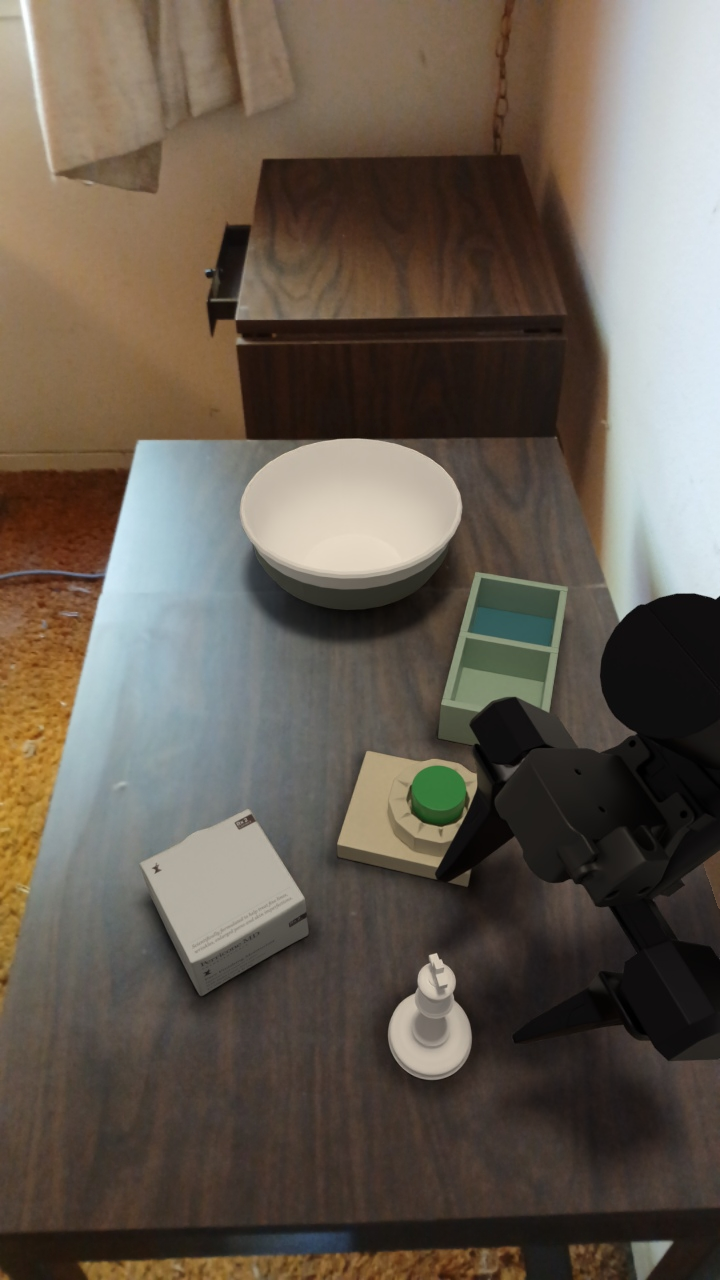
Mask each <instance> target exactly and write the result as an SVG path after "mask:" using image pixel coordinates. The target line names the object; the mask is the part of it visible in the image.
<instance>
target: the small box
mask: <svg viewBox="0 0 720 1280" xmlns="http://www.w3.org/2000/svg"><path fill="white" fill-rule="evenodd" d="M138 865H139V869H140V871H141V873H142V876H143V880H144V881H145V885H146V887H147V890H148V893H149V896H150V898H151V900H152V902H153V904H154V906H155V908H156V910H157V913H158V915H159V917H160V920H161V921H162V923H163V925H164V927H165V930H166V932H167V934H168V936H169V939H170V940H171V942H172V944H173V946H174V948H175V950H176V952H177V954H178V957H179V958H180V960H181V963H182V964H183V966H184V968H185V970H186V972H187V975H188V977H189V979H190V980H191V982H192V984H193V987H194V989H195V990H196V992H197V994H198V995H199V996H200V997H203V996H205V995H207V994H208V993H209V992H212V991H213V990H214V989H217V988H218V987H220V986H222V985H223V984H224V983H226V982H228V981H229V980H231V979H233V978H235V977H236V976H238V975H240V974H241V973H243V972H245V971H247V970H249V969H251V968H252V967H254V966H255V965H257V964H259V963H261V962H262V961H264V960H266V959H268V958H269V957H271V956H273V955H274V954H276V953H278V952H280V951H282V950H284V949H285V948H287V947H288V946H290V945H292V944H294V943H296V942H298V941H299V940H302V939H304V938H305V937H308V936H309V934H310V930H309V929H310V928H309V923H308V921H309V920H308V914H307V913H308V912H307V904H306V898H305V896H304V894H303V893H302V892H301V890H300V888H299V886H298V885H297V883H296V881H295V880H294V877H292V875H291V874H290V871H289V870H288V868H287V867H286V865H285V863H284V862H283V860H282V858H281V857H280V855H279V854H278V852H277V850H276V848H275V847H274V845H273V843H272V842H271V841H270V839H269V837H268V835H267V834H266V832H265V831H264V829H263V827H262V826H261V824H260V823H259V821H258V819H257V817H256V816H255V814H254V812H253V811H252V810H251V809H250V808H246V809H244V810H242V811H240V812H238V813H236V814H234V815H231V816H229V817H228V818H226V819H224V820H221V821H219V822H218V823H216V824H214V825H212V826H210V827H207V828H203V829H199V830H196V831H194V832H192V833H191V834H189V835H188V836H187V837H185V838H184V839H183V841H181V842H179V843H176V844H175V845H173V846H171V847H168V848H167V849H165V850H163V851H161V852H159V853H156V854H155V855H153V856H151V857H148V858H147V859H145V860H142V861H140V862H139V863H138Z"/></svg>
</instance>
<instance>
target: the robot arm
mask: <svg viewBox="0 0 720 1280" xmlns="http://www.w3.org/2000/svg"><path fill="white" fill-rule="evenodd" d="M605 643H606V644H605V647H604V649H603V652H602V655H601V659H600V667H599V668H600V670H599V681H600V687H601V693H602V695H603V698H604V701H605V703H606V705H607V708H608V709H609V710H610V713H612V715H613V716H614V717H615V719H617V720H618V721H619V722H620V723H621V724H622V725H624V726H625V727H626V728H627V729H628V730H630V731H632V732H634V733H635V734H634V735H633V734H632V735H629V736H628V737H626V738H625V739H624V740H623V741H621V742H620V743H619V744H617V745H616V746H612V747H611V748H608V749H605V750H602V751H600V752H599V751H596V750H595V749H592V748H587V747H579V746H578V744H577V743H576V741H575V740H574V738H573V737H572V736H571V734H570V733H569V731H568V730H567V728H566V727H565V725H564V723H563V722H562V721H561V719H560V718H559V717H558V716H557V715H555V714H552V713H550V711H549V712H546V711H544V710H542V709H540V708H538V707H536V706H534V705H532V704H530V703H528V702H526V701H524V700H522V699H520V698H517V697H504V698H500V699H497V700H494V701H491V702H490V703H489V704H488V705H487V706H486V707H485V708H484V709H482V710H481V711H480V712H479V713H478V714H477V715H476V716H475V717H474V718H472V719H471V721H470V724H469V726H470V728H471V729H472V731H473V733H474V735H475V736H476V738H477V740H478V742H479V743H480V744H477V743H475V744H474V745H472V748H471V757H472V758H473V760H474V762H475V769H476V773H477V789H476V792H475V795H474V797H473V800H472V802H471V805H470V807H469V809H468V812H467V814H466V816H465V818H464V820H463V822H462V824H461V825H460V827H459V829H458V831H457V833H456V835H455V837H454V838H453V840H452V842H451V844H450V846H449V848H448V850H447V851H446V853H445V855H444V857H443V859H442V861H441V863H440V864H439V866H438V868H437V870H436V872H435V876H436V878H437V881H438V882H443V883H449V881H451V880H453V879H455V878H456V877H458V876H460V875H462V874H463V873H465V872H467V871H469V870H470V869H471V870H472V869H474V867H476V866H478V865H479V864H480V863H482V861H484V860H486V858H488V857H489V856H491V855H492V854H493V853H495V851H497V850H499V849H500V848H501V847H502V846H504V845H505V844H506V843H508V842H509V841H510V840H512V839H513V838H514V837H515V839H516V840H517V842H518V844H519V846H520V848H521V850H522V858H523V859H524V863H525V864H526V866H527V867H528V868H529V871H531V872H532V874H534V875H535V876H536V877H537V878H538V879H540V880H541V881H543V882H546V883H549V884H550V883H551V884H562V883H565V882H567V881H569V880H572V882H573V884H575V885H580V886H583V888H584V889H585V891H586V893H587V895H588V896H589V898H590V899H591V901H592V903H593V905H594V906H595V907H597V908H609V910H610V912H611V914H612V915H613V916H614V918H615V920H616V921H617V924H618V925H619V926H620V928H621V930H622V932H623V934H624V935H625V936H626V938H627V940H628V941H629V943H630V945H631V947H632V948H633V950H634V951H635V954H633V955H632V956H631V957H629V958H628V959H627V960H625V961H624V963H623V970H622V972H619V971H617V972H616V971H608V970H600V971H598V973H597V974H596V975H595V977H594V978H593V980H592V981H591V982H590V984H589V985H588V986H587V987H585V988H584V989H582V990H580V991H578V992H577V993H575V994H573V995H572V996H570V997H568V998H566V999H565V1000H563V1001H561V1002H559V1003H557V1004H556V1005H554V1006H552V1007H550V1008H548V1009H547V1010H544V1011H543V1012H542V1013H539V1014H538V1015H537V1016H535V1017H532V1018H531V1019H529V1020H528V1021H527V1022H525V1023H524V1024H523V1025H521V1026H520V1028H518V1029H517V1030H515V1032H513V1033H512V1034H511V1040H512V1042H513V1044H514V1045H526V1044H531V1043H535V1042H540V1041H541V1042H542V1041H545V1040H551V1039H555V1038H560V1037H565V1036H570V1035H574V1034H578V1033H584V1032H588V1031H594V1030H598V1029H604V1028H609V1027H617V1026H623V1027H624V1029H625V1030H626V1032H627V1033H628V1034H629V1035H630V1036H631V1037H632V1038H633V1039H635V1040H637V1041H639V1042H650V1043H651V1044H652V1046H653V1048H654V1049H655V1050H656V1051H657V1052H658V1053H659V1054H660V1055H661V1056H662V1057H663V1058H664V1059H665V1060H666V1061H667V1062H682V1061H683V1062H684V1061H687V1062H688V1061H718V1060H719V1059H720V957H719V956H718V954H717V953H716V951H715V950H714V949H713V948H714V947H712V946H711V945H708V944H703V943H697V942H691V941H688V940H687V941H686V940H681V939H679V937H678V936H677V935H676V934H675V932H674V930H673V928H672V927H671V926H670V924H669V922H668V921H667V919H666V918H665V916H664V915H663V913H662V911H661V910H660V908H659V907H658V905H657V904H656V902H655V901H654V899H656V898H657V897H659V896H660V895H661V896H664V897H668V898H670V897H671V896H673V895H674V894H675V893H677V892H678V891H680V890H681V889H682V888H684V887H685V886H686V884H685V883H684V881H683V878H684V877H686V875H688V874H690V873H691V872H692V871H694V870H695V869H697V868H698V867H699V866H701V865H702V864H704V863H705V862H706V861H708V860H709V859H711V858H712V857H713V856H714V855H716V854H717V853H718V852H720V595H718V597H716V598H714V597H711V596H708V595H702V594H698V593H695V592H694V593H693V592H691V593H690V592H689V593H688V592H687V593H686V592H685V593H684V592H683V593H681V592H680V593H679V592H677V593H673V594H667V595H664V596H659V597H658V598H655V599H653V600H650V601H649V602H647V603H645V604H642V603H641V604H638V605H636V606H635V607H634V608H632V610H630V611H629V612H628V613H627V614H626V615H625V616H623V618H622V619H621V620H620V622H619V623H618V624H617V625H616V626H615V627H614V629H613V631H612V633H611V634H610V636H609V638H608V639H607V641H606V642H605Z"/></svg>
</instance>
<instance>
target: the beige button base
mask: <svg viewBox="0 0 720 1280" xmlns="http://www.w3.org/2000/svg"><path fill="white" fill-rule="evenodd" d="M437 765H438V766H446V767H449V768H451V769H453V770H455V771H456V772H458V773H459V774H460V775H461V777H462V778H463V779H464V781H465V784H466V797H465V805H464V809H463V812H462V813H461V815H460V816H459V817H458V818H457V819H456V820H454V821H452V822H450V823H447V824H442V825H437V824H431V823H428V822H426V821H424V820H422V819H421V818H420V817H418V816H417V814H416V813H415V812H414V810H413V808H412V805H411V793H412V782H413V780H414V778H415V776H416V775H417V774H418V773H419V772H420V771H421V770H423V769H424V768H427V767H430V766H437ZM476 789H477V772H471V771H470V770H469V769H467V768H466V767H465V766H463V765H462V764H461V763H459V762H453V761H449V760H444V759H440V758H431V759H427V760H423V761H419V760H414V759H410V758H405V757H401V756H394V755H390V754H385V753H380V752H375V751H371V750H366V751H365V755H364V758H363V761H362V764H361V766H360V770H359V773H358V777H357V779H356V782H355V786H354V789H353V793H352V795H351V799H350V801H349V804H348V808H347V811H346V814H345V817H344V821H343V822H342V823H343V824H342V827H341V829H340V833H339V835H338V840H337V843H336V851H337V857H338V858H341V859H345V860H349V861H354V862H358V863H363V864H367V865H372V866H375V867H380V868H384V869H388V870H392V871H398V872H401V873H405V874H411V875H414V876H418V877H423V878H427V879H432V880H437V878H436V876H435V872H436V870H437V868H438V866H439V864H440V863H441V861H442V859H443V857H444V855H445V853H446V851H447V850H448V848H449V846H450V844H451V842H452V840H453V838H454V837H455V835H456V833H457V831H458V829H459V827H460V825H461V824H462V822H463V820H464V818H465V816H466V814H467V812H468V809H469V807H470V805H471V802H472V800H473V797H474V795H475V792H476ZM471 874H472V869H470V870H469V871H467V872H465V873H463V874H462V875H460V876H458V877H456V878H455V879H453V880H451V881H449V882H448V884H453V885H458V886H461V887H465V888H468V886H469V884H470V878H471ZM437 881H438V880H437Z"/></svg>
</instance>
